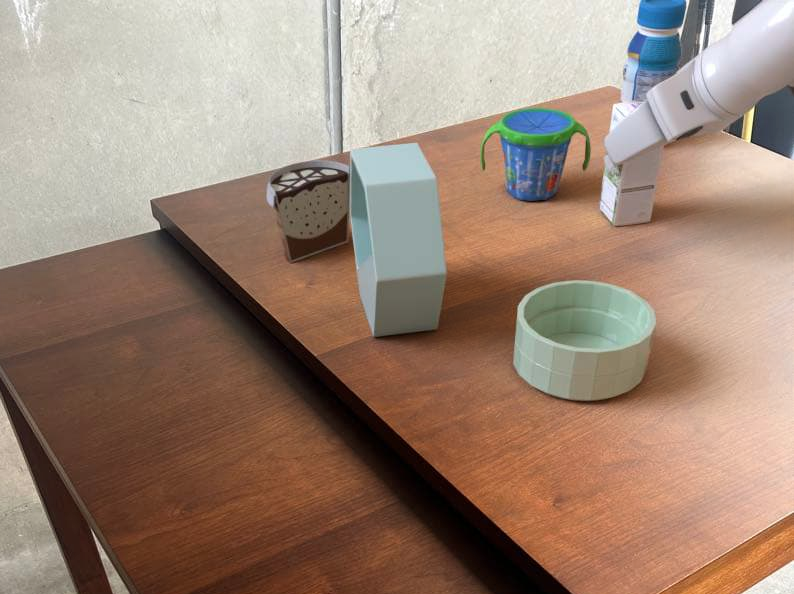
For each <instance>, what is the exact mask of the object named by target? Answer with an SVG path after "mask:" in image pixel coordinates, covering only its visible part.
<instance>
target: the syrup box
mask: <svg viewBox="0 0 794 594" xmlns="http://www.w3.org/2000/svg"><path fill="white" fill-rule="evenodd" d="M644 101H646V100H633V101H626V102H622V103H620V102H617V103H613V105H612V112H611V117H610V125H609V133H610V132H611V131H612V130H613V129H614V128H615V127H616V126H617V125H618V124H619V123H620V122H621V121H622V120H623V119H624V118H625V117H626V116H627V115H629V114H630V113H631V112H632V111H633V110H634V109H635V108H636V107H638V106H639V105H640V104H642V103H643V102H644ZM609 133H608V134H609ZM664 147H665V145H664V146H662V147H660V148H657V149H655V150H653V151H650V152H648V153H646V154H643V155H641V156H639V157H637V158H634V159H632V160H630V161H627V162H625V163H623V164H621V165H618V166H616V167H614V168H612V169H608V168H607V166H606V164H605V163H604V167H603V174H602V175H603V176H602V181H601V189H600V197H599V203H598V211H599V213H601V214H602V215H603V216H604V218H605V219H607V220H608V222H609V223H610V224H611V225H612V226H613V227H621V226H631V225H638V224H644V223H650V222H651V219H652V213H653V207H654V202H655V197H656V193H657V186H658V183H659V176H660V171H661V164H662V159H663V154H664ZM606 155H607V152H606V154H605V156H606Z"/></svg>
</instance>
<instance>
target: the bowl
mask: <svg viewBox="0 0 794 594" xmlns="http://www.w3.org/2000/svg"><path fill="white" fill-rule="evenodd" d="M656 328H657V317H656V311H655V310H654V309H653V307H652V306H651V305H650V303H649V302H648V301H647V300H645V299H644V298H643V297H642V296H640V295H638V294H637V293H635V292H633V291H632V290H628V289H627V288H623V287H622V286H619V285H616V284H611V283H606V282H601V281H596V280H579V279H572V280H565V281H563V280H562V281H555V282H551V283H548V284H546V285H542V286H539V287H536V288H534V289H533V290H532V291H530V292H528V293H527V294H525V295H524V296H523V298H522V299H521V301H520V302H519V304H518V305H517V311H516V322H515V333H514V344H513V357H512V358H513V359H512V363H513V366H514V368H515V370H516V372H517V373H518V375H519V377H520V378H522V379H523V380H524V381H525V382H526V383H527V384H529V385H530V386H531V387H533V388H535V389H537V390H539V391H540V392H543V393H545V394H547V395H550V396H552V397H556V398H560V399H563V400H568V401H576V402H577V401H579V402H593V401H595V402H596V401H602V400H606V399H611V398H614V397H618V396H620V395H623V394H625V393H628V392H630V391H631V390H633V389H634V388H635V387H637V386H638V385H639V384H640V383H641V382H643V379H644V376H645V374H646V373H647V368H648V365H649V361H650V360H649V359H650V355H651V350H652V347H653V342H654V338H655V337H654V336H655V332H656Z"/></svg>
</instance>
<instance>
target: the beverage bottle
mask: <svg viewBox="0 0 794 594" xmlns="http://www.w3.org/2000/svg"><path fill="white" fill-rule="evenodd" d="M686 10H687V0H640V2H639V5H638V11H637V17H636V25H637V27H638V28H639V29H638V30H637V31H636V33H635V34H634V35H633V37H632V38H631V40H630V42H629V44H628V47H627V49H626V54H627V60H626V61H625V63H624V65H623V70H622V83H621V90H620V98H619V103H622V102H626V101H633V100H647V97H646V94H647V92H648V91H649V90H650V89H652V88H653V87H654V86H656V85H657V84H659V83H660V82H662V81H663V80H665V79H667V78H669V77H670V76H672V75H674V74H675V73H676V72H677V71H678V70H680V69H681V67H680V63H679V62H680V59H681V58H682V56H683V51H684V50H683V48H684V47H683V42H682V39H681V35H680V33H679V31H678V30H680V29H681V28H682V26H683V24H684V21H685V16H686V12H687V11H686Z"/></svg>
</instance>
